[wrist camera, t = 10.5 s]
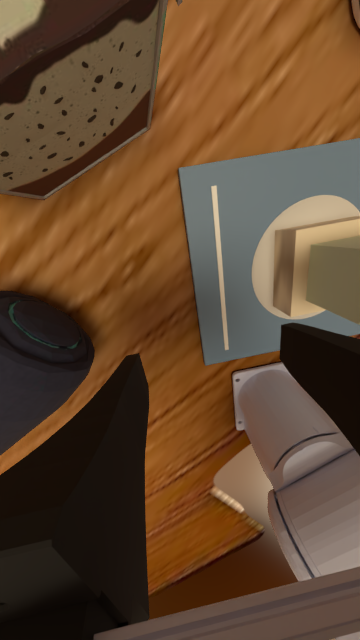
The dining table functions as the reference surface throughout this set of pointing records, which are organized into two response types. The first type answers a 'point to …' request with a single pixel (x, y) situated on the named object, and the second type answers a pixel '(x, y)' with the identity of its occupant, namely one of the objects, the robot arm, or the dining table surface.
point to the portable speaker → (37, 363)
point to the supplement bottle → (356, 11)
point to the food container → (73, 86)
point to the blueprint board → (265, 242)
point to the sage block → (336, 277)
